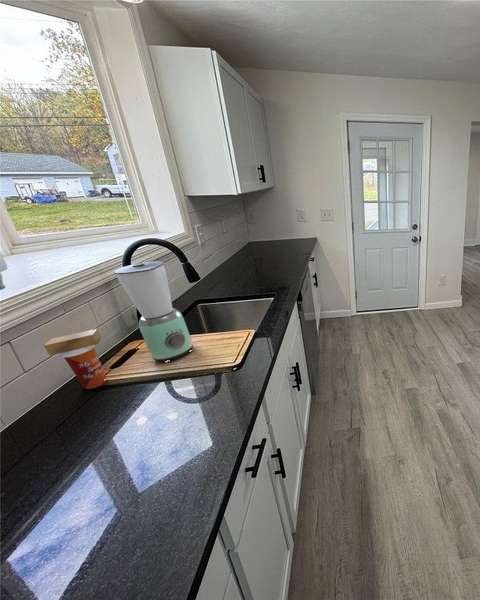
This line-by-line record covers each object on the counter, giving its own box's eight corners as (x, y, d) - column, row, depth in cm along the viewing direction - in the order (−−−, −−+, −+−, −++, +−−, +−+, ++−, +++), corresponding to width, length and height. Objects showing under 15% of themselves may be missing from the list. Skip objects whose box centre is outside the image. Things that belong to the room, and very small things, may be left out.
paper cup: (96, 390, 99) (76, 352, 93) (73, 391, 99) (51, 354, 94) (117, 375, 106) (99, 339, 101) (95, 376, 106) (76, 340, 101)
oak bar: (49, 355, 93) (43, 345, 92) (56, 348, 97) (50, 338, 96) (97, 344, 98) (92, 334, 96) (101, 338, 102) (97, 328, 100)
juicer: (204, 350, 118) (172, 260, 105) (165, 369, 108) (124, 272, 94) (180, 339, 128) (147, 256, 114) (141, 356, 117) (101, 266, 104)
